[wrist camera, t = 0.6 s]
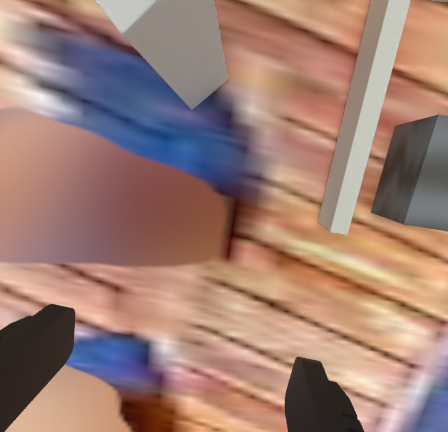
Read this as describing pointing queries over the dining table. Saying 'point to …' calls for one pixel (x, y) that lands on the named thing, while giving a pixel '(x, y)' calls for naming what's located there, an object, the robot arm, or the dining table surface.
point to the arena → (362, 111)
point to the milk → (175, 42)
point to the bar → (416, 175)
